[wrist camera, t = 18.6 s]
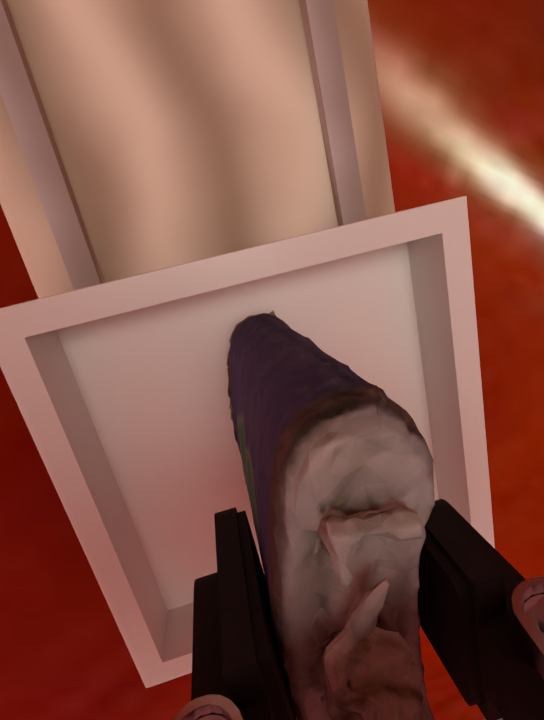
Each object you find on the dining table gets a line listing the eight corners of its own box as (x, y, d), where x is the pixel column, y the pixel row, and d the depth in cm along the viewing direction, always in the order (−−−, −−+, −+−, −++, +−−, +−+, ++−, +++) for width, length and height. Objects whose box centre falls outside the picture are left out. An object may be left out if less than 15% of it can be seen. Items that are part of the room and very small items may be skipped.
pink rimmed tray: (160, 574, 22) (146, 688, 16) (51, 295, 18) (-24, 314, 12) (424, 490, 24) (496, 566, 18) (386, 214, 19) (466, 195, 13)
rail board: (149, 547, 24) (143, 576, 22) (-135, -175, 15) (-193, -249, 13) (417, 463, 26) (436, 482, 24) (320, -229, 17) (337, -303, 14)
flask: (325, 523, 18) (524, 966, 7) (256, 540, 17) (343, 1039, 6) (293, 303, 15) (538, 433, 4) (211, 318, 15) (224, 508, 4)
